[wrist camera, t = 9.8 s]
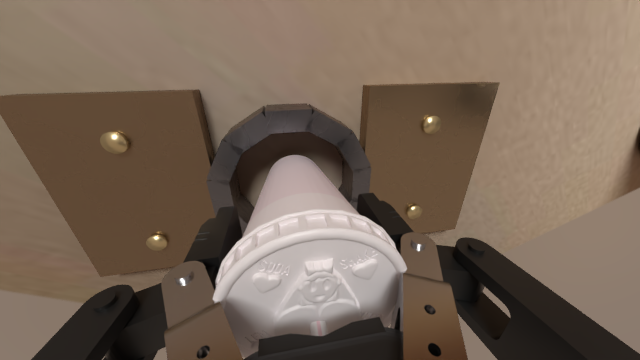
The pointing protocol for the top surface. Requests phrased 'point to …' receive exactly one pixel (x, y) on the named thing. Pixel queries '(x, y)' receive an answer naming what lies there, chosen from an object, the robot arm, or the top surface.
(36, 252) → the top surface
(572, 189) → the top surface
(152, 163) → the hinge base
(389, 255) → the smoothie
